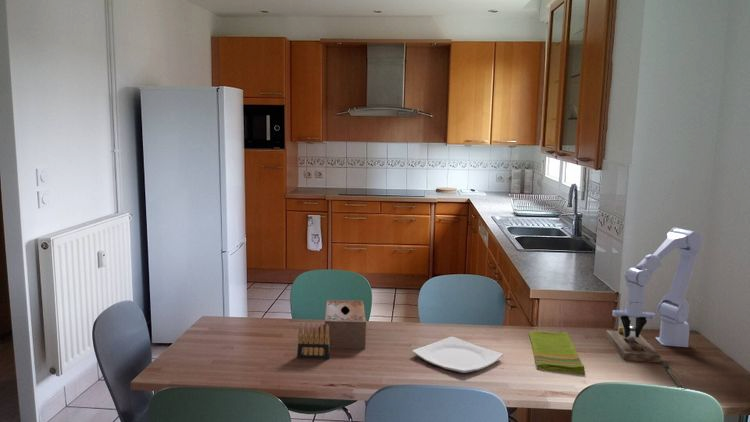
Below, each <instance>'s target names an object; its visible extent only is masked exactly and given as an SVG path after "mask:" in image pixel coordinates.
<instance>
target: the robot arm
mask: <svg viewBox="0 0 750 422" xmlns="http://www.w3.org/2000/svg"><path fill="white" fill-rule="evenodd" d="M702 241H703V237H702V236H701V234H700V232H698V231H696V230H688V229H684V228H680V227H676V226H675V227H673V228H671V229H670V230H669V231H668V232H667V233H666V239H665V240H664V241H663V242H662V243H661V245H660V246H659V247H658V248H657V249H656V250H655V251H654V253H653V254H652V253H649V254H646V255H645V256H644V257H643V259H642V260H641V261H640V262H639V263H638V264H636V265H635V266H634V267H633V266H632V267H630V268H628V270H626V273H625V274H624V279H625V281H626V286H627V291H626V292H627V293H626V302H625V309H612V314H611V315H612V316H613V317H615V318H616V317H619V318H620V320H621V323H622V327H624V332H625V336H626V337H628V335H629V326H631V320H630V318H635V327H637V331H636V337H639V334H640V335H641V332H642V330H643V328H644V327H645V326H646V324H647V322H648V320H647V319H650V320H655V319H656V314H655V313H654V312H648V311H643V310H644V301H645V291H646V290H645V289H646V285H648V284H649V283H650V280H651V277H652V274H654V272H656V271H657V269H659V268H660V267H661V266H662V260H663V259H665V258H666V257H667V256H669V254H671V253H672V252H674V250H675V249H677V250H678V251H679V254H680V256H679V259H678V263H677V267H676V271H675V273H674V276H673V281H672V283H671V286H670V289H669V293H667V294H665V295H663V296H662V297H661V300H660V301H659V303H658V305H657V309H656V310H657V314H658V315H659V318H660V328H659V336H655V338H654V339H655V340H657V342H659V344H660V345H661V346H667V347H678V348H679V347H683V348H689V337H690V324H689V323H688V321H687V320H688V318H689V317H690V315H689V314H690V311H689V310H690V306H691V305H690V303H689V302H688V300H687V299H686V295H687V291H688V288H689V285H690V282H691V278H692V275H693V271H694V268H695V265H696V262H697V258H698V255H699V251H700V248H701V246H702V243H703V242H702Z"/></svg>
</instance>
